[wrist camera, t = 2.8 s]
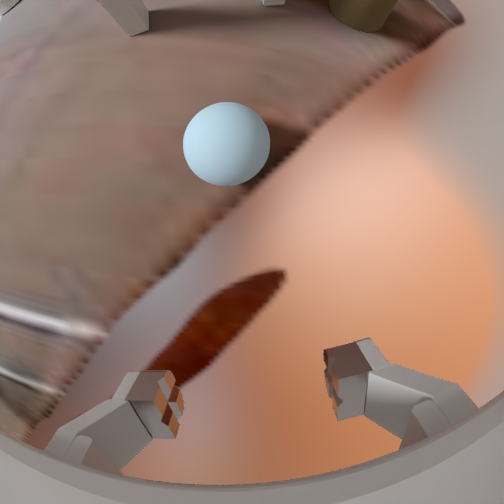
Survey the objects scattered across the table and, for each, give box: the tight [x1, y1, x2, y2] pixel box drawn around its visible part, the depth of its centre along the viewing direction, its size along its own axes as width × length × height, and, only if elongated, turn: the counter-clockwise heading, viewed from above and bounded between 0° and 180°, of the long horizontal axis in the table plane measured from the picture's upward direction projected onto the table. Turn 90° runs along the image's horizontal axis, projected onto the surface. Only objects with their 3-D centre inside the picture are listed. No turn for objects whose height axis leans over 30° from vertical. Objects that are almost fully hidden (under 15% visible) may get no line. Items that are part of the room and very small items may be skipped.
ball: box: [183, 102, 270, 186], centre depth 18 cm, size 6×6×6 cm
